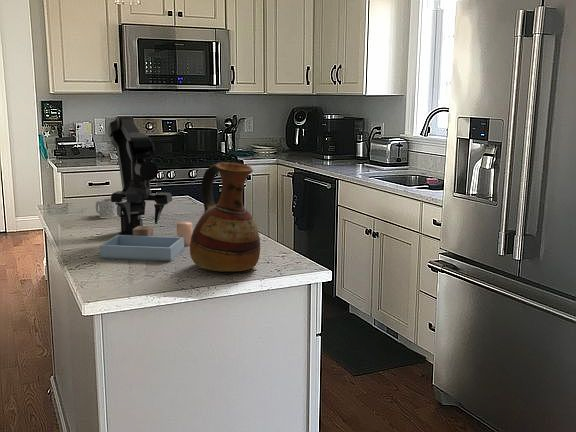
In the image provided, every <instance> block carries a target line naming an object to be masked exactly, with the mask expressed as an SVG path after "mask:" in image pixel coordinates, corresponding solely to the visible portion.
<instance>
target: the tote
mask: <svg viewBox="0 0 576 432" xmlns="http://www.w3.org/2000/svg"><path fill="white" fill-rule="evenodd" d="M184 250H185V246H184V237H177V236H160V235H159V236H157V235H156V236H154V235H153V236H133V234H124V235H123V234H116V235H115V236H112V238H110V239H108V240H107V241H105V242H102V243H101V244H99V257H100V259H101V260H123V261H124V260H127V261H146V262H147V261H152V262H172V261H173V260H175V258H177V257H178V256H179V255H180V254H181V253H183V251H184Z"/></svg>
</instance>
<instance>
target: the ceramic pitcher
mask: <svg viewBox="0 0 576 432" xmlns="http://www.w3.org/2000/svg"><path fill="white" fill-rule="evenodd" d="M253 172H254V168H252V167H251V166H249V165H246V164H244V163H240V162H232V161H231V162H229V161H227V162H225V161H220V162H218V163H214V164H212V165H211V166H209V167H208V168H207V169H206V170H205V172H204V173H203V177H202V180H201V184H200V194H201V198H202V203H203V211H204V212H203V214H202V215H201V216H200V218H199V220H198V221H197V223H196V224H195V226H194V228H193V229H192V230H193V233H192V236H191V241H190V246H189V255H190V258H191V260H192V261H193V263H194V264H195V265H196V266H198V267H199V268H202V269H204V270H207V271H215V272H220V273H222V272H225V273H226V272H228V273H229V272H231V273H232V272H234V273H235V272H242V271H246V270H251V269H253V268H254V267H255V266H256V265H257V264H258V262H259V260H260V254H261V237H260V234H259V228H258V226H257V223H256V220H255V219H254V217H253V216H252V214H251V213H250V212H249V211H248V210H247V209H246V208H245V206H244V202H243V193H244V187H245V183H246V180H247V178H248V177H249V175H251V173H253ZM218 173H219V175H220V177H221V178H220V179H221V193H220V196H219V199H218V201H217V203H215V200H214V195H213V183H214V180H215V178H216V176H217V174H218Z"/></svg>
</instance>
